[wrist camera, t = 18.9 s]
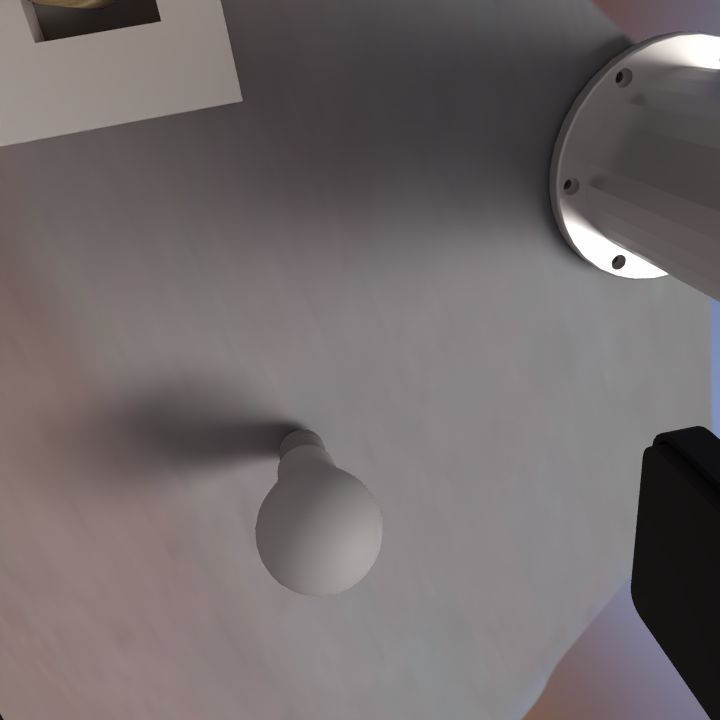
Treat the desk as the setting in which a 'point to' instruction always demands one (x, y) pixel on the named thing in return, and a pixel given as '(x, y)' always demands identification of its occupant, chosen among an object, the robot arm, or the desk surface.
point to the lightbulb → (317, 521)
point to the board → (111, 71)
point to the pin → (76, 3)
